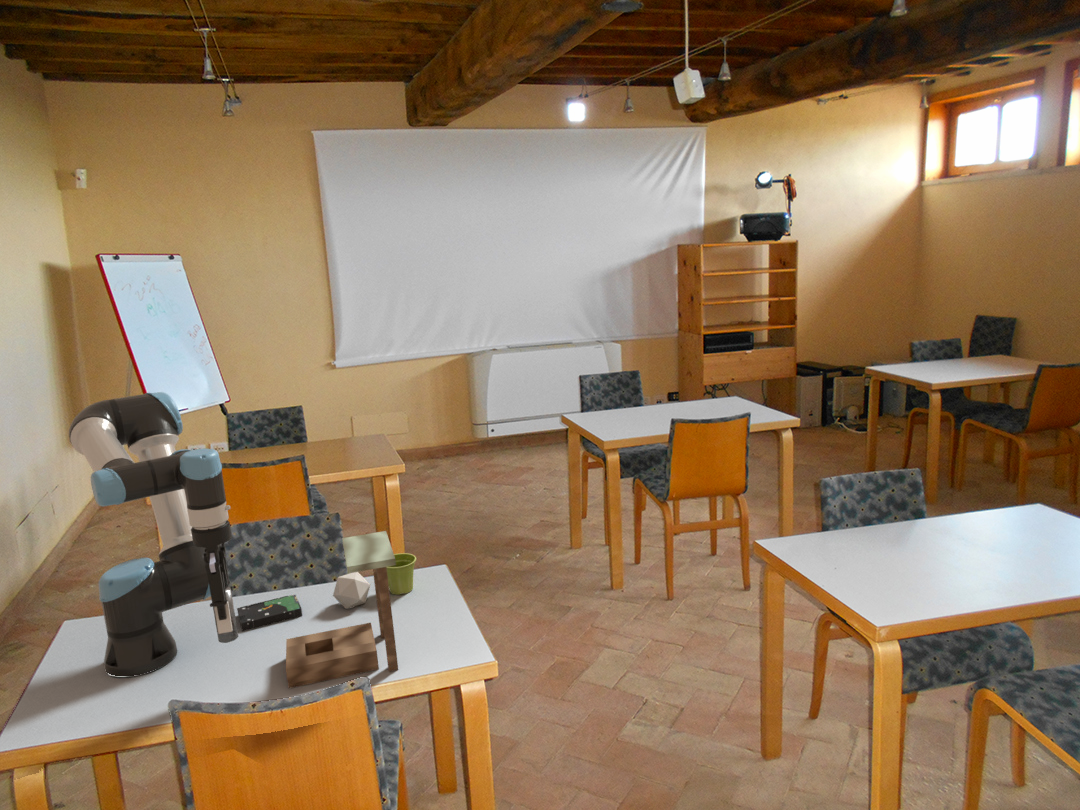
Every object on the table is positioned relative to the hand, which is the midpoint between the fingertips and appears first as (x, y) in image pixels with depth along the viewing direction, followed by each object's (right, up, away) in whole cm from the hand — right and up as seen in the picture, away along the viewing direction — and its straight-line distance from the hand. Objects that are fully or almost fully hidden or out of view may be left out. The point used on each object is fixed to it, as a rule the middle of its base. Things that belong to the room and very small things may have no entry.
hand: (226, 626), depth 167 cm
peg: (0, -3, +1) cm, 3 cm away
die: (+18, -5, +37) cm, 42 cm away
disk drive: (-2, -7, +34) cm, 35 cm away
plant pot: (+30, -3, +44) cm, 53 cm away
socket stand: (+24, -10, +9) cm, 27 cm away
